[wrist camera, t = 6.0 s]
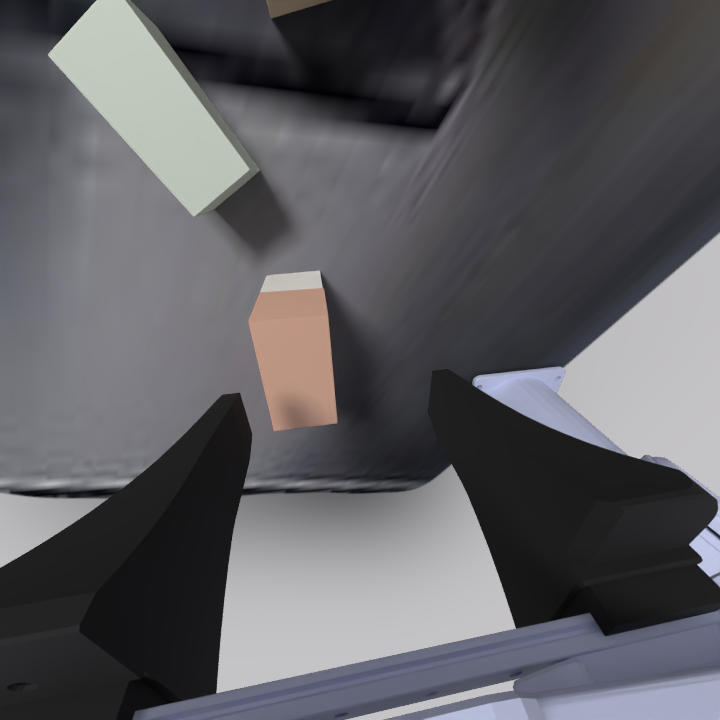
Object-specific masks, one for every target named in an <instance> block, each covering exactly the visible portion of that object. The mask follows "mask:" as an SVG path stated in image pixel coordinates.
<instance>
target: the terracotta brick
mask: <svg viewBox="0 0 720 720" xmlns="http://www.w3.org/2000/svg"><path fill="white" fill-rule="evenodd" d="M248 322H249V326H250V331H251V335H252V339H253V343H254V348H255V352H256V356H257V360H258V365H259V369H260V373H261V377H262V382H263V386H264V390H265V394H266V399H267V403H268V407H269V411H270V416H271V420H272V424H273V428H274V431H278V430H286V429H294V428H302V427H310V426H318V425H327V424H335V423H337V413H336V401H335V390H334V378H333V366H332V355H331V343H330V331H329V320H328V311H327V305H326V298H325V292H324V288H316V289H302V290H288V291H274V292H260V294H259V296H258V299H257V301H256V304H255V306H254V309H253V311H252V314H251V316H250V319H249V321H248Z"/></svg>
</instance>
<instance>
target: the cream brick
mask: <svg viewBox="0 0 720 720" xmlns="http://www.w3.org/2000/svg"><path fill="white" fill-rule="evenodd" d="M316 288H322V281H321V275H320V271H311V272H300V273H289V274H278V275H267V276H266V279H265V281H264V284H263V286H262V289H261V291H260V292H274V291H288V290H302V289H316Z"/></svg>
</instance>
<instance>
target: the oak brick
mask: <svg viewBox="0 0 720 720" xmlns="http://www.w3.org/2000/svg"><path fill="white" fill-rule="evenodd" d="M266 1H267V5H268V9H269V12H270V16H271V18H274V17H278V16H281V15H284V14H288V13H291V12H294V11H298V10H301V9H305V8H308V7H311V6H315V5H318V4H321V3H325V2H328V1H331V0H266Z"/></svg>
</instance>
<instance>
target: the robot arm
mask: <svg viewBox="0 0 720 720" xmlns="http://www.w3.org/2000/svg"><path fill="white" fill-rule="evenodd" d="M564 374H565V369H563V368H562V367H551V368H542V369H533V370H524V371H515V372H505V373H496V374H487V375H479V376H477V377H475V378H474V379H473V383H472V384H471V383H469V382H468V381H466V380H464V379H463V378H461V377H460V376H458V375H457V374H455V373H453V372H452V371H450V370H448V369H445V370H437V371H432V381H431V390H430V399H429V408H428V413H429V416H430V419H431V421H432V424H433V427H434V430H435V432H436V435H437V437H438V439H439V441H440V442H441V444H442V446H443V448H444V450H445V452H446V454H447V456H448V458H449V459H450V461H451V463H452V465H453V467H454V469H455V471H456V472H457V474H458V476H459V478H460V480H461V482H462V484H463V486H464V488H465V490H466V492H467V494H468V497H469V499H470V501H471V504H472V506H473V509H474V511H475V514H476V516H477V519H478V521H479V524H480V526H481V529H482V531H483V534H484V537H485V539H486V542H487V544H488V547H489V549H490V553H491V555H492V558H493V561H494V564H495V567H496V569H497V572H498V575H499V578H500V581H501V583H502V587H503V589H504V592H505V596H506V599H507V602H508V605H509V608H510V611H511V614H512V617H513V620H514V623H515V627H516V629H513V630H508V631H503V632H499V633H494V634H490V635H485V636H480V637H476V638H471V639H467V640H462V641H457V642H453V643H448V644H443V645H439V646H434V647H430V648H425V649H420V650H416V651H411V652H406V653H402V654H397V655H392V656H388V657H383V658H379V659H374V660H369V661H365V662H361V663H355V664H351V665H346V666H342V667H337V668H332V669H328V670H323V671H318V672H314V673H309V674H305V675H300V676H296V677H291V678H286V679H282V680H277V681H272V682H268V683H263V684H258V685H254V686H249V687H244V688H240V689H235V690H231V691H226V692H221V693H217V694H216V690H217V676H218V662H219V650H220V637H221V627H222V617H223V607H224V597H225V588H226V580H227V572H228V563H229V555H230V549H231V541H232V534H233V528H234V524H235V519H236V515H237V511H238V507H239V503H240V498H241V494H242V490H243V486H244V482H245V478H246V474H247V469H248V465H249V461H250V453H251V443H252V432H251V428H250V425H249V422H248V418H247V415H246V412H245V408H244V405H243V402H242V398H241V395H240V393H234V394H225V395H222V396H221V397H220V398H219V399H218V400H217V401H216V402H215V403H214V404H213V405H212V406H211V407H210V408H209V409H208V410H207V411H206V412H205V414H204V415H203V416H202V417H201V418H200V419H199V420H198V421H197V422H196V423H195V424H194V425H193V426H192V427H191V428H190V429H189V430H188V431H187V432H186V433H185V434H184V435H183V436H182V437H181V438H180V439H179V440H178V441H177V442H176V443H175V444H174V445H173V446H172V447H171V448H170V449H169V450H168V451H166V452H165V453H164V454H163V455H162V456H161V457H160V458H159V459H158V460H157V461H156V462H154V463H153V464H152V465H151V466H150V467H149V468H147V469H146V470H145V471H144V472H143V473H141V474H140V475H139V476H138V477H136V478H135V479H134V480H133V481H132V482H130V483H129V484H128V485H126V486H125V487H124V488H123V489H121V490H120V491H118V492H117V493H116V494H114V495H113V496H112V497H110V498H109V499H107V500H106V501H105V502H103V503H102V504H101V505H99V506H98V507H96V508H95V509H94V510H92V511H91V512H90V513H88V514H87V515H85V516H84V517H82V518H81V519H79V520H78V521H76V522H75V523H73V524H72V525H70V526H69V527H67V528H65V529H64V530H62V531H61V532H59V533H58V534H56V535H54V536H53V537H51V538H50V539H48V540H47V541H45V542H43V543H42V544H40V545H39V546H37V547H35V548H34V549H32V550H30V551H29V552H27V553H25V554H24V555H22V556H20V557H18V558H17V559H15V560H13V561H11V562H10V563H8V564H6V565H5V566H3V567H1V568H0V720H345V719H349V718H354V717H358V716H362V715H366V714H371V713H375V712H379V711H383V710H388V709H392V708H396V707H400V706H405V705H409V704H413V703H417V702H422V701H426V700H430V699H434V698H438V697H443V696H447V695H451V694H456V693H459V692H464V691H468V690H472V689H477V688H481V687H485V686H489V685H494V684H498V683H502V682H506V681H510V680H515V679H518V680H516V681H514V686H513V689H514V691H508V692H502V693H496V694H490V695H485V696H481V697H476V698H473V699H468V700H464V701H460V702H455V703H451V704H447V705H443V706H439V707H435V708H431V709H427V710H422V711H418V712H414V713H410V714H405V715H401V716H397V717H393V718H389V719H384V720H720V497H719V496H717V495H716V494H714V493H713V492H712V491H711V490H709V489H708V488H707V487H705V486H704V485H703V484H701V483H700V482H699V481H697V480H696V479H695V478H693V477H692V476H690V475H689V474H688V473H687V472H685V471H684V470H682V469H681V468H680V467H678V466H677V465H675V464H674V463H672V462H671V461H669V460H668V459H666V458H661V457H651V456H649V455H644V456H643V457H642V458H641V459H637V458H634V457H630V456H628V455H627V454H626V453H625V452H623V451H622V450H621V449H620V448H619V447H617V445H615V444H614V443H613V442H612V441H611V440H610V439H608V438H607V437H606V436H605V435H604V434H603V433H602V432H600V431H599V430H598V429H597V428H596V427H595V426H593V425H592V424H591V423H590V422H589V421H588V420H587V419H585V418H584V417H583V416H582V415H581V414H580V413H578V412H577V411H576V410H575V409H574V408H573V407H572V406H570V405H569V404H568V403H567V402H566V401H565V400H563V399H562V398H561V397H560V396H559V395H558V394H557V392H558V390H559V387H560V385H561V382H562V379H563V377H564ZM479 385H480V386H479ZM478 386H479V387H478ZM519 678H520V679H519Z"/></svg>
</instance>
